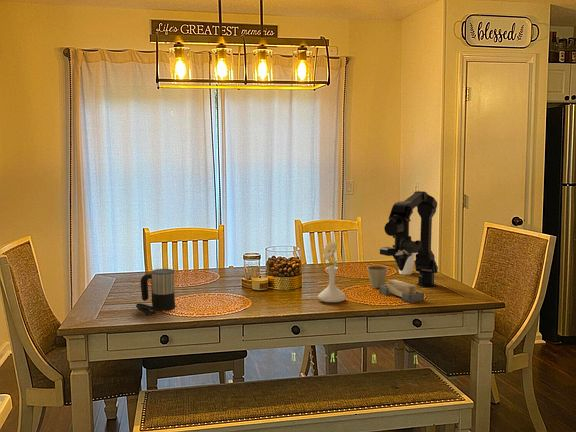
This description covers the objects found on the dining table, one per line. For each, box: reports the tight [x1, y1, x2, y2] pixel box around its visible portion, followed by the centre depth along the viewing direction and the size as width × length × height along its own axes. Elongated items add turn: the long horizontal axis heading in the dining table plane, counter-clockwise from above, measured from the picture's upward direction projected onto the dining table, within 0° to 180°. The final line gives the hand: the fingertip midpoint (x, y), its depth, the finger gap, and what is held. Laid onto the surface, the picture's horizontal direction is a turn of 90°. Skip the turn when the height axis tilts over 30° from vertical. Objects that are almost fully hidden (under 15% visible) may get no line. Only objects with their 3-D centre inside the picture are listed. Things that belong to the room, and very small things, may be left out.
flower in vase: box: [317, 241, 347, 303], centre depth 227 cm, size 13×11×25 cm
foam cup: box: [398, 253, 416, 276], centre depth 282 cm, size 10×9×13 cm
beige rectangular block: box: [386, 279, 417, 298], centre depth 235 cm, size 4×14×5 cm, turn 27°
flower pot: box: [366, 265, 389, 289], centre depth 254 cm, size 9×9×9 cm
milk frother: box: [135, 268, 176, 315], centre depth 217 cm, size 14×16×15 cm
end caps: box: [379, 284, 425, 304], centre depth 235 cm, size 8×19×3 cm, turn 29°
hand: (401, 270), depth 234 cm, fingers closed
